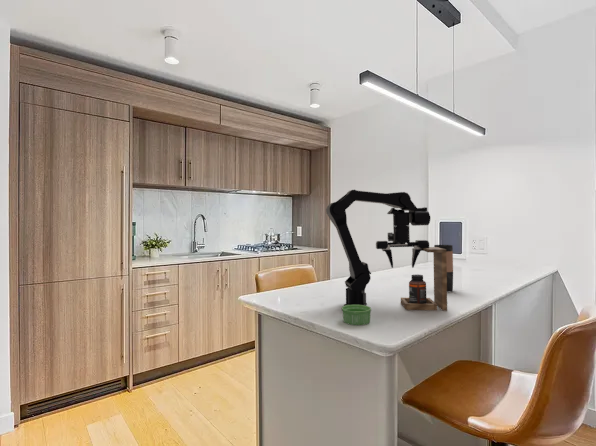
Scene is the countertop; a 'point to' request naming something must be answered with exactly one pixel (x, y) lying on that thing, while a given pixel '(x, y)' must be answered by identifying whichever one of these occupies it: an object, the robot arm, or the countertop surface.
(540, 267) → the countertop surface
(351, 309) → the ramekin
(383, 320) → the countertop surface
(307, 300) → the countertop surface
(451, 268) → the travel mug
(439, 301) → the stand
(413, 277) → the supplement bottle
